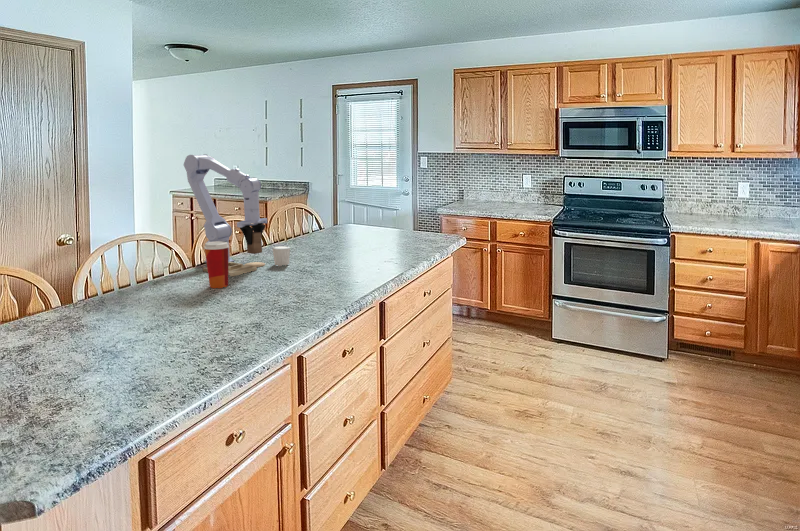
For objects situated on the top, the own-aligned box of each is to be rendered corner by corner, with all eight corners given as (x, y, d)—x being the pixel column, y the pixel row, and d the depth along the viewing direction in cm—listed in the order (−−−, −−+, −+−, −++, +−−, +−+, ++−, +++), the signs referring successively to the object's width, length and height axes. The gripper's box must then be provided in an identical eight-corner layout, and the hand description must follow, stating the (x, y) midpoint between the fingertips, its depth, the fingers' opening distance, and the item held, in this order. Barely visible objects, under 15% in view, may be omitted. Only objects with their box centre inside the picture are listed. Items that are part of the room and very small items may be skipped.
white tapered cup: (286, 266, 226) (285, 249, 224) (270, 265, 227) (269, 248, 225) (293, 262, 232) (292, 246, 231) (277, 262, 233) (276, 245, 232)
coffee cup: (221, 282, 200) (218, 240, 197) (236, 285, 196) (234, 242, 192) (201, 287, 193) (197, 243, 190) (216, 290, 189) (213, 246, 186)
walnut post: (247, 252, 226) (246, 232, 224) (254, 251, 229) (253, 231, 227) (254, 253, 224) (253, 233, 222) (262, 252, 227) (261, 232, 225)
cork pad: (240, 265, 226) (240, 264, 226) (254, 262, 233) (254, 261, 233) (254, 268, 222) (254, 267, 222) (269, 264, 229) (269, 263, 229)
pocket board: (203, 271, 217) (202, 265, 216) (227, 265, 227) (226, 259, 227) (233, 276, 209) (232, 269, 208) (256, 270, 219) (256, 264, 219)
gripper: (245, 211, 215) (247, 247, 218) (272, 207, 227) (274, 241, 230) (232, 210, 218) (234, 245, 221) (259, 206, 230) (261, 240, 233)
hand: (253, 243), depth 226 cm, fingers closed on walnut post, 4 cm apart
